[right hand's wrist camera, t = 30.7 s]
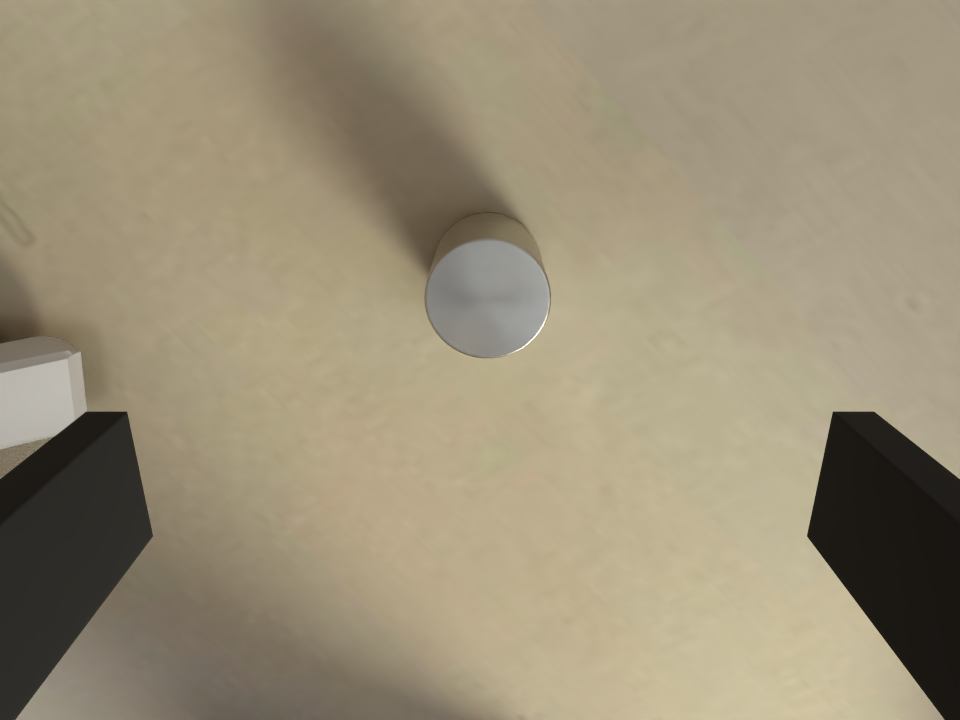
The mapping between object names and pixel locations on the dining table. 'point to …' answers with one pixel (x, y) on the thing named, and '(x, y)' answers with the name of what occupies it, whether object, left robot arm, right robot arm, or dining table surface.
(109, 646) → the dining table surface
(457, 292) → the can
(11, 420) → the clamp
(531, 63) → the dining table surface
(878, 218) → the dining table surface
